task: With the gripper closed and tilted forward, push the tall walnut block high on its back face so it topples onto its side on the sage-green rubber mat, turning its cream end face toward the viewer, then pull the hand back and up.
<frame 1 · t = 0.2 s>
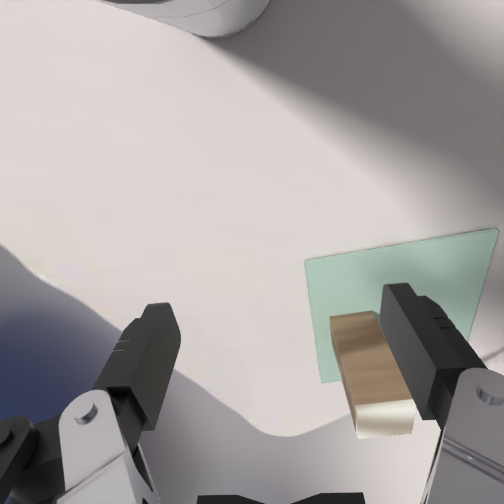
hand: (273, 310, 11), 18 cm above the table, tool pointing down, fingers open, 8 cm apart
sage mat: (391, 318, 36), on the table
walnut block: (351, 327, 37), resting on sage mat
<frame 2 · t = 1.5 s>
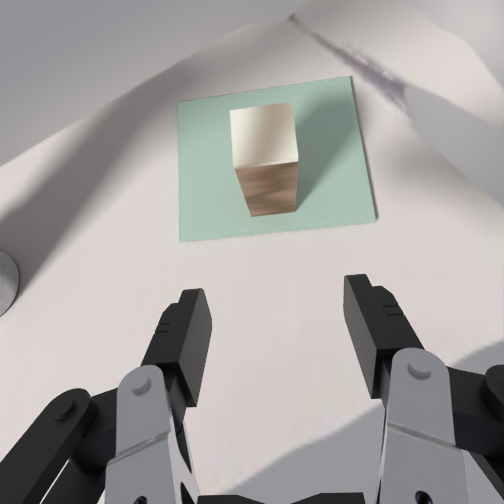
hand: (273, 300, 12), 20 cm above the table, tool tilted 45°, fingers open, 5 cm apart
sage mat: (267, 158, 36), on the table
walnut block: (271, 194, 34), resting on sage mat
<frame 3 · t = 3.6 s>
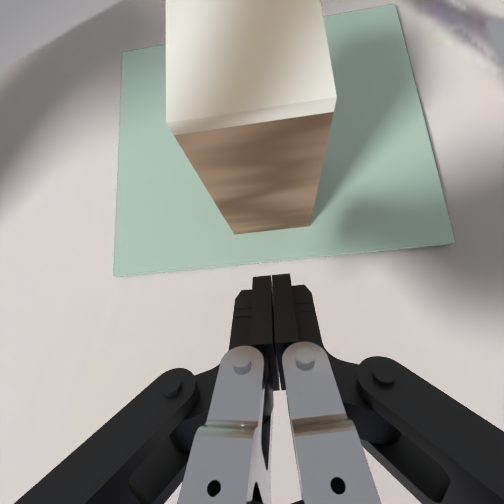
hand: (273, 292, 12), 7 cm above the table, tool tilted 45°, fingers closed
sage mat: (262, 136, 22), on the table
walnut block: (268, 195, 20), resting on sage mat
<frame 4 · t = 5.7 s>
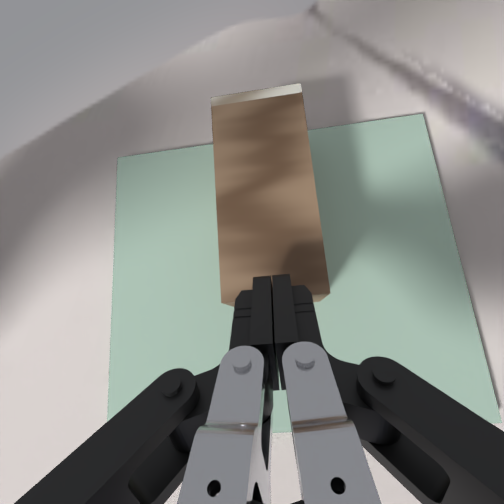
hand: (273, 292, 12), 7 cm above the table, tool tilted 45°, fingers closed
sage mat: (275, 267, 19), on the table
walnut block: (277, 302, 16), point 3 cm above the table, tilted 90°, touching sage mat
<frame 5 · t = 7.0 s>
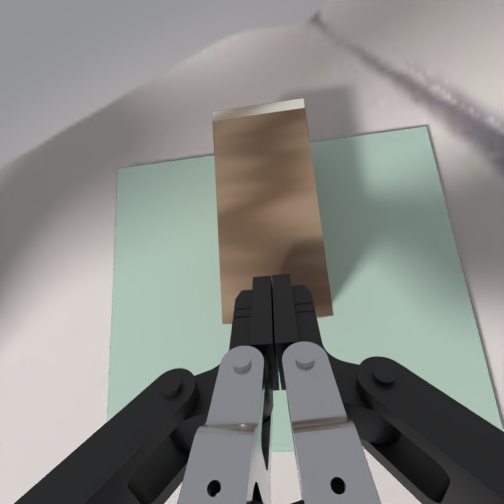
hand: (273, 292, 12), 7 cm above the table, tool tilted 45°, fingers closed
sage mat: (276, 282, 19), on the table
walnut block: (278, 320, 16), point 3 cm above the table, tilted 90°, touching sage mat
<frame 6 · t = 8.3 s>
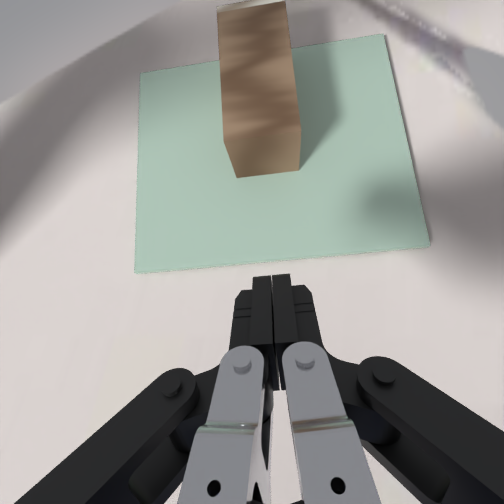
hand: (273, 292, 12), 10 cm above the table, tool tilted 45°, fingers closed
sage mat: (265, 150, 25), on the table
walnut block: (264, 157, 21), point 3 cm above the table, tilted 90°, touching sage mat
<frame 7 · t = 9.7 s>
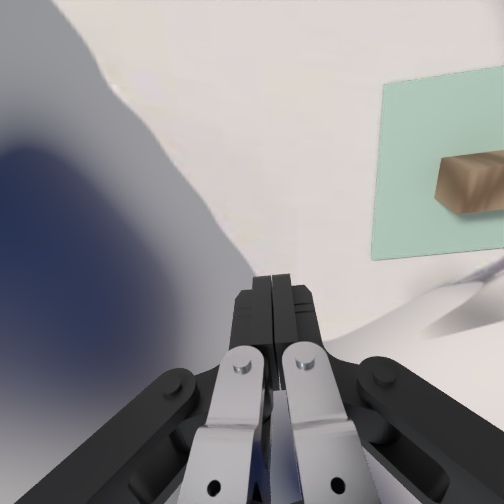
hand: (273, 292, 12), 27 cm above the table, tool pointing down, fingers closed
sage mat: (456, 174, 36), on the table
walnut block: (448, 185, 34), point 3 cm above the table, tilted 90°, touching sage mat
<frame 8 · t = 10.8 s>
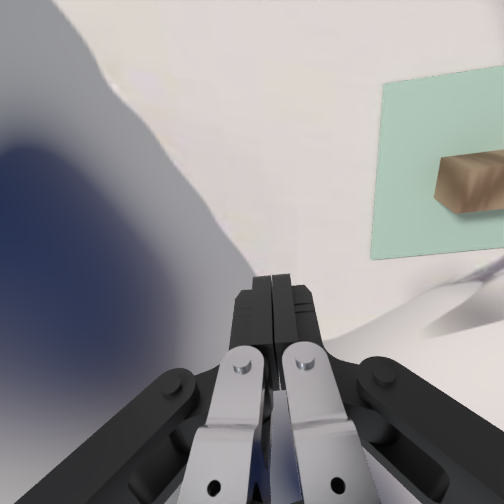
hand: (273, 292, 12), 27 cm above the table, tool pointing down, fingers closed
sage mat: (456, 174, 36), on the table
walnut block: (448, 184, 34), point 3 cm above the table, tilted 90°, touching sage mat
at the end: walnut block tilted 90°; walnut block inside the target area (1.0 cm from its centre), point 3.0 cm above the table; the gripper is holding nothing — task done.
